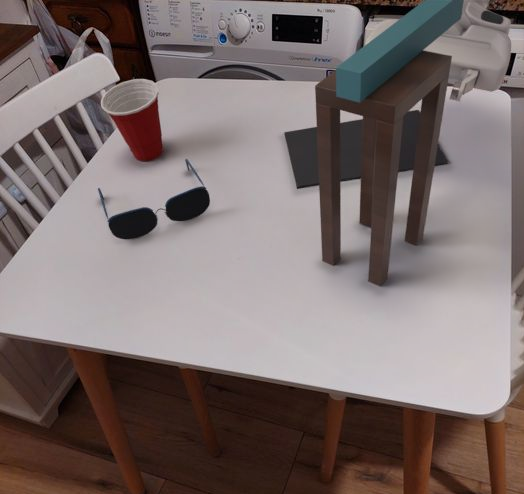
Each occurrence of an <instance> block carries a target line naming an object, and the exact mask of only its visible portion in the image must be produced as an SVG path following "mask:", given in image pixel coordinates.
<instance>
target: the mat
mask: <svg viewBox="0 0 524 494" xmlns="http://www.w3.org/2000/svg"><path fill="white" fill-rule="evenodd" d="M420 112H421V111H420V110H419V109H416V110H409V111H408V112H407V113H406V114H405V115H404V116H403V126H402V136H401V146H400V157H399V167H398V173H401V172H406V171H413V169H414V161H415V153H416V145H417V137H418V129H419V120H420ZM362 128H363V118H361V119H355V120H349V121H343V122H342V121H341V122H340V182H346V181H351V180H357V179H361V158H362ZM283 135H284V139H285V141H286V146H287V151H288V156H289V160H290V165H291V168H292V172H293V178H294V182H295V185H296V189H303V188H310V187H315V186H319V169H318V145H317V126H313V127H307V128H301V129H294V130H290V131H284V134H283ZM448 164H449V161H448V159H447V157H446V155H445V153H444V152H443V151H442V148H441V146H440V145H439V144H438V147H437V153H436V160H435V166H434V167H437V166H442V165H444V166H445V165H448Z"/></svg>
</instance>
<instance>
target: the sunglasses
mask: <svg viewBox="0 0 524 494" xmlns="http://www.w3.org/2000/svg"><path fill="white" fill-rule="evenodd" d="M184 160H185V165H186V168H187V171H188V172H189V171H190V169H191V171H192V172H193V174H194V175H195V177H196V178H197V179H198V181H199V183H201V185H202V186H195V187H193V188H190V189H188V190H186V191H183V192H181V193H178V194H176V195H174V196H171V197H170V198H168V199H167V201H166V202H165V204H164V207H165V208H158V209H157V210H156V211H155V212H154V210H153V209H152V208H150V207H147V206H146V207H145V206H144V207H138V208H134V209H131V210H127V211H123V212H120V213H116V214H114V215H112V216H110V217H109V216H108V212H107V208H106V205H105V201H104V200H105V197H104V195H103V193H102V190H101V188H100V187H97V192H98V195H99V198H100V201H101V205H102V209H103V211H104V214H105V217H106V219H107V224H108V229H109V230H110V233H111V234H112V235H113V236H114V237H115V238H117V239H119V240H120V239H121V240H125V241H126V240H127V241H128V240H135V239H138V238H142V237H144V236H146V235H148V234H149V233H151V232H152V231H153V230H154V229H156V228H157V226H158V221H159V217H158V214H157V213H158V211H160V210H163V211H164V214H165V216H166V217H167V218H168V219H169V220H170V221H173V222H188V221H191V220H194V219H196V218H198V217H199V216H201V215H202V214H204V213H205V212H206V211H207V209H208V208H209V206H210V204H211V197H210V193H209V190H208V189H207V187H206V186H205V184H204V183H203V181H202V179H201V178H200V176H199V175H198V173H197V171H196V170H195V168H194V167H193V165H192V164H191V162H190V160H189V159H187V158H186V159H184Z"/></svg>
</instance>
